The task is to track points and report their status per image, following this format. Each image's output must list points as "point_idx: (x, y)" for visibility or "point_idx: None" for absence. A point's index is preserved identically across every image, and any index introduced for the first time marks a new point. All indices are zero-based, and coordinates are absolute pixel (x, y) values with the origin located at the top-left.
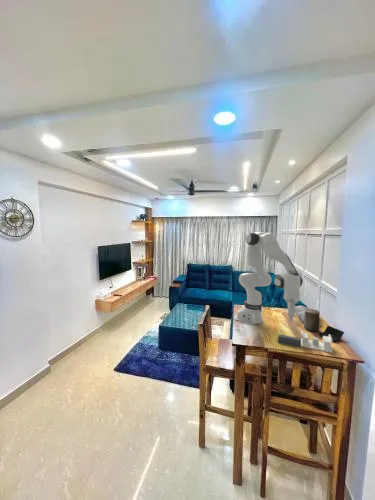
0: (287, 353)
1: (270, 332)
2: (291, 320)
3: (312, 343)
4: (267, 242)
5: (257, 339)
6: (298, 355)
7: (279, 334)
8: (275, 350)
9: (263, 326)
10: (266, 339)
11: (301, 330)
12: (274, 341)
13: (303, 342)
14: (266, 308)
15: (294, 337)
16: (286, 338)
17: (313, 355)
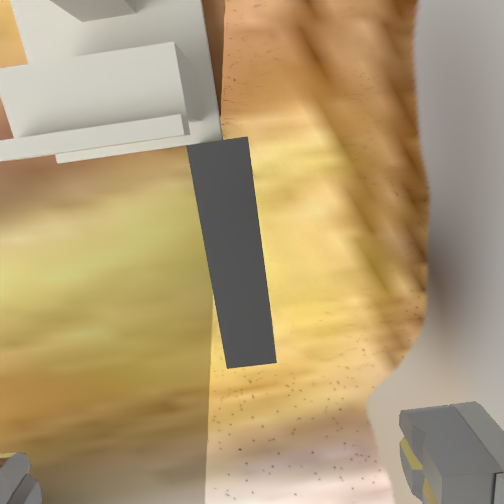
0: (413, 230)
1: (102, 405)
2: (493, 443)
3: (95, 19)
4: None
5: (296, 456)
6: (405, 141)
7: (228, 359)
8: (407, 319)
9: None
10: (256, 406)
11: (36, 152)
12: None
13: (196, 112)
14: None
15: (206, 214)
16: (265, 285)
17: (335, 2)
